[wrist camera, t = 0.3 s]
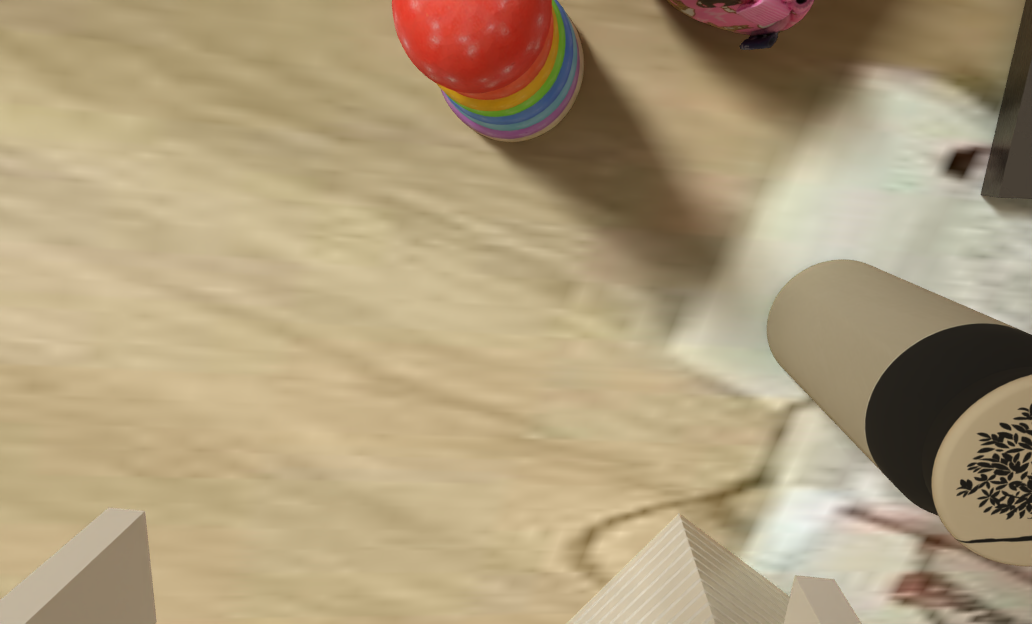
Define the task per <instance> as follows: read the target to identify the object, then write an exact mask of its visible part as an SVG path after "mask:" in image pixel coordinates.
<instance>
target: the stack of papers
mask: <svg viewBox="0 0 1032 624" xmlns="http://www.w3.org/2000/svg"><path fill="white" fill-rule="evenodd" d="M789 599H790V597H789V596H788V595H787V594H785V593H784V592H783V591H781V590H780V589H779V588H778V587H776V586H775V585H774V584H772V583H771V582H770V581H768V580H767V579H766V578H764V577H763V576H762V575H760V574H759V573H758V572H756V571H755V570H754V569H752V568H751V567H750V566H748V565H747V564H746V563H744V562H743V561H742V560H740V559H739V558H738V557H736V556H735V555H734V554H732V553H731V552H730V551H728V550H727V549H726V548H724V547H723V546H722V545H720V544H719V543H718V542H716V541H715V540H714V539H712V538H711V537H710V536H709V535H707V534H706V533H705V532H703V531H702V530H701V529H699V528H698V527H697V526H695V525H694V524H693V523H691V522H690V521H689V520H687V519H686V518H685V517H683V516H682V515H681V514H678V515H677V516H676V517H675V518H674V519H673V520H672V521H671V522H670V523H669V524H667V525H666V526H665V527H664V528H663V529H662V530H661V531H660V532H659V533H658V534H657V535H656V536H655V537H654V538H653V539H652V540H651V541H650V542H649V543H648V544H647V545H646V546H645V547H644V548H643V549H642V550H641V551H640V552H639V553H638V554H637V555H636V556H635V557H634V558H633V559H632V560H631V561H630V562H629V563H628V564H627V565H626V566H625V567H624V568H623V569H621V570H620V571H619V572H618V573H617V574H616V575H615V576H614V577H613V578H612V579H611V580H610V581H609V582H608V583H607V584H606V585H605V586H604V587H603V588H602V589H601V590H600V591H599V592H598V593H597V594H596V595H595V596H594V597H593V598H592V599H591V600H590V601H589V602H588V603H587V604H586V605H585V606H584V607H583V608H582V609H581V610H580V611H579V612H578V613H576V614H575V615H574V616H573V617H572V618H571V619H570V620H569V621H568V622H567V623H566V624H784V620H785V616H786V612H787V607H788V603H789Z"/></svg>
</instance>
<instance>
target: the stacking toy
mask: <svg viewBox="0 0 1032 624" xmlns="http://www.w3.org/2000/svg"><path fill="white" fill-rule="evenodd" d="M392 10H393V18H394V24H395V28H396V32H397V35H398V38H399V40H400V42H401V44H402V46H403V48H404V50H405V52H406V54H407V55H408V57H409V58H410V60H411V61H412V62H413V64H414V65H415V66H416V67H417V68H418V69H419V70H420V71H421V72H422V73H423V74H424V75H426V76H427V77H428V78H429V79H431V80H432V81H434V82H435V83H437V85H438V86H439V87H440V88H441V91H442V94H443V96H444V98H445V100H446V102H447V103H448V105H449V106H450V108H451V109H452V111H453V112H454V113H455V114H456V115H457V116H458V117H459V118H460V119H461V120H462V121H463V122H464V123H465V124H466V125H467V126H469V127H470V128H471V129H473V130H474V131H476V132H477V133H479V134H481V135H483V136H485V137H488V138H490V139H494V140H498V141H504V142H518V141H525V140H529V139H533V138H535V137H538V136H540V135H542V134H544V133H546V132H548V131H549V130H551V129H552V128H553V127H555V126H556V125H557V124H558V123H559V122H560V121H561V120H562V119H563V118H564V117H565V116H566V115H567V113H568V112H569V110H570V109H571V108H572V106H573V104H574V102H575V100H576V98H577V96H578V93H579V90H580V87H581V84H582V79H583V72H584V55H583V49H582V44H581V40H580V37H579V35H578V32H577V30H576V28H575V26H574V24H573V22H572V20H571V19H570V17H569V16H568V14H567V13H566V12H565V10H564V9H563V7H562V6H561V5H560V3H559V2H558V1H557V0H392Z"/></svg>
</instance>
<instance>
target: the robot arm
mask: <svg viewBox="0 0 1032 624" xmlns="http://www.w3.org/2000/svg"><path fill="white" fill-rule="evenodd" d="M155 623H156V612H155V603H154V593H153V583H152V574H151V564H150V554H149V545H148V535H147V525H146V516H145V511H139V510H129V509H119V508H109V507H108V508H107V509H106V510H105V511H104V512H103V513H101V514H100V515H99V516H98V517H97V518H96V519H94V520H93V521H92V522H91V523H90V524H88V525H87V526H86V527H85V528H84V529H83V530H81V531H80V532H79V533H78V534H77V535H76V536H74V537H73V538H72V539H71V540H70V541H69V542H67V543H66V544H65V545H64V546H63V547H61V548H60V549H59V550H58V551H57V552H56V553H54V554H53V555H52V556H51V557H50V558H49V559H47V560H46V561H45V562H44V563H43V564H42V565H40V566H39V567H38V568H37V569H36V570H35V571H33V572H32V573H31V574H30V575H29V576H27V577H26V578H25V579H24V580H23V581H22V582H20V583H19V584H18V585H17V586H16V587H15V588H13V589H12V590H11V591H10V592H9V593H8V594H6V595H5V596H4V597H3V598H2V599H0V624H155ZM784 624H862V623H861V622H860V620H859V618H858V617H857V615H856V614H855V612H854V610H853V609H852V607H851V606H850V604H849V602H848V601H847V599H846V598H845V596H844V594H843V593H842V591H841V589H840V588H839V586H838V585H837V583H836V581H835V580H834V579H825V578H815V577H805V576H795V577H794V582H793V586H792V590H791V594H790V599H789V603H788V607H787V612H786V616H785V620H784Z"/></svg>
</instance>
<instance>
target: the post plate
mask: <svg viewBox="0 0 1032 624" xmlns="http://www.w3.org/2000/svg"><path fill="white" fill-rule="evenodd" d="M981 195H986V196H992V197H1001V198H1027V199H1032V0H1026V2H1025V7H1024V11H1023V15H1022V20H1021V24H1020V28H1019V32H1018V37H1017V41H1016V45H1015V50H1014V54H1013V58H1012V62H1011V67H1010V71H1009V75H1008V80H1007V84H1006V88H1005V93H1004V97H1003V101H1002V105H1001V110H1000V114H999V118H998V123H997V127H996V131H995V135H994V140H993V144H992V148H991V153H990V157H989V161H988V166H987V170H986V174H985V178H984V183H983V187H982V191H981Z"/></svg>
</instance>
